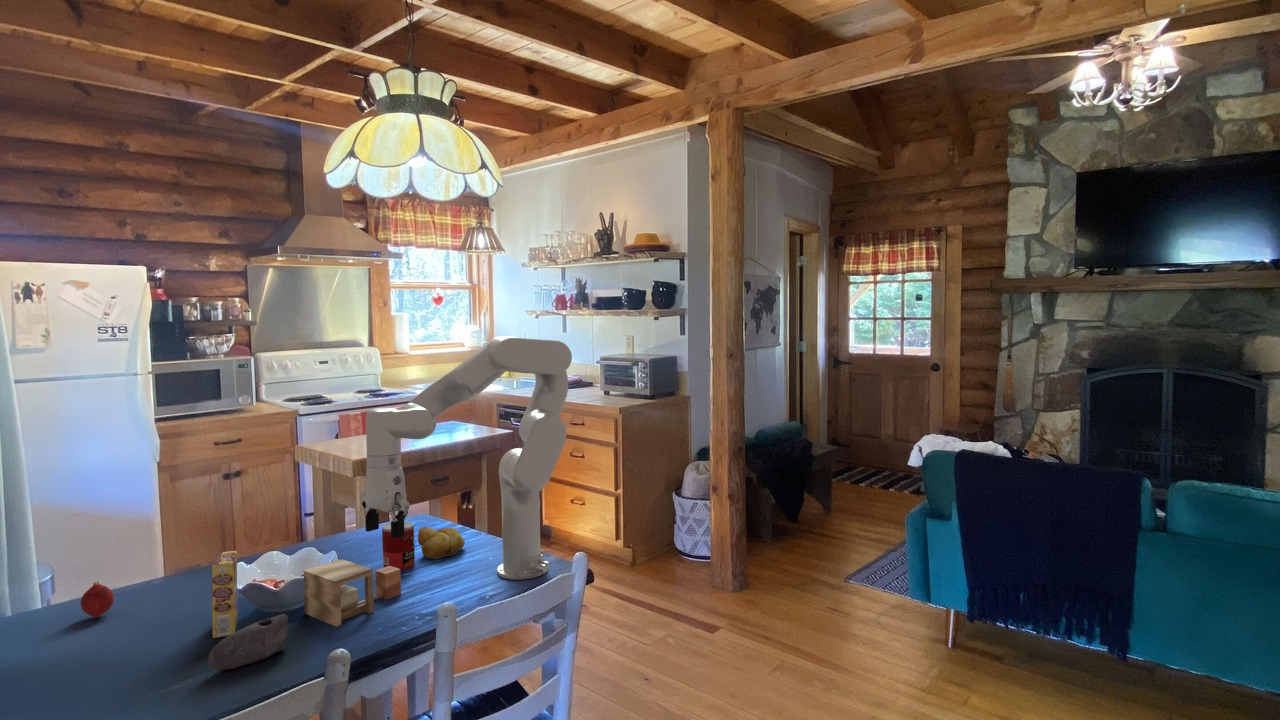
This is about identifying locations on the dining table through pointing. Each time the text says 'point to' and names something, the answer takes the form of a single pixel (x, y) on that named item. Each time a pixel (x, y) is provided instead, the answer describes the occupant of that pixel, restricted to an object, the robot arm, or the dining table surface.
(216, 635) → the candy box
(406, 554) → the canned food
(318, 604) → the oak shelf cubby
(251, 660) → the perforated stone tool
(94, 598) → the red pomegranate
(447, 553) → the bread roll
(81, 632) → the dining table surface
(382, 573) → the birch block with cord
